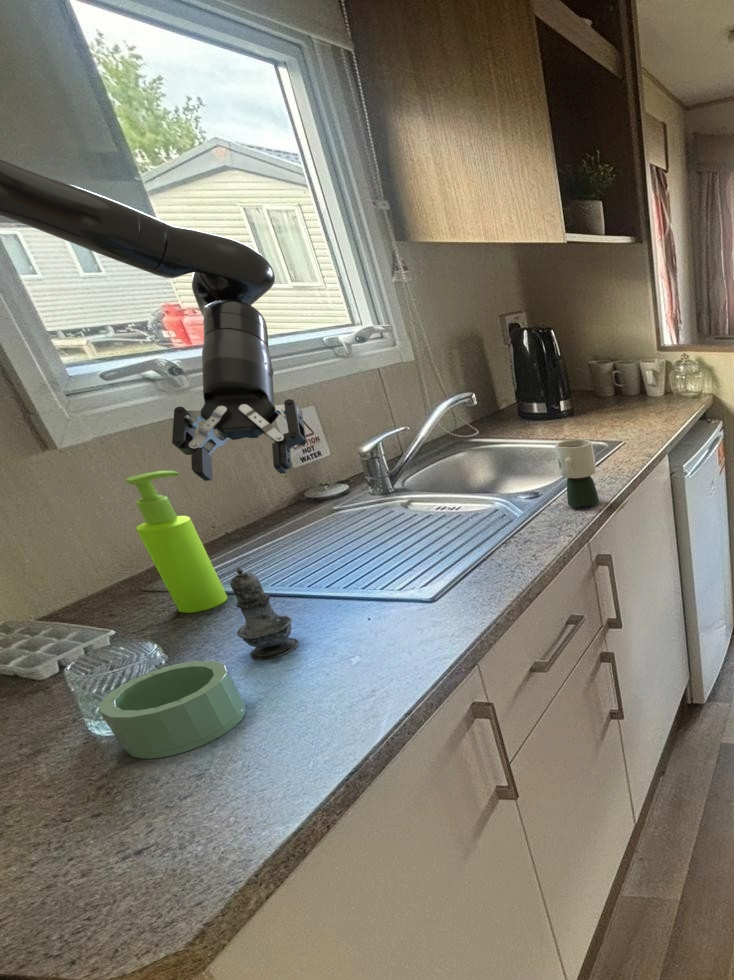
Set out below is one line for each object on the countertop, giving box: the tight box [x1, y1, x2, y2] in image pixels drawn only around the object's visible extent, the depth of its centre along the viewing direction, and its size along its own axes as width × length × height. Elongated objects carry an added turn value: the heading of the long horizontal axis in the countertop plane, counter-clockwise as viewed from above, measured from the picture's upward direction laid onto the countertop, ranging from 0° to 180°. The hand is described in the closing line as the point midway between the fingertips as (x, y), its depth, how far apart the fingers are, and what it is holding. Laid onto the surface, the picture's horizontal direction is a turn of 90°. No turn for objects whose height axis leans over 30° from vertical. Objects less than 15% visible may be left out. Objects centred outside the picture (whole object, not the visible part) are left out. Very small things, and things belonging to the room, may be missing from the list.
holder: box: [99, 660, 247, 760], centre depth 72 cm, size 10×10×6 cm
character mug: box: [554, 438, 600, 509], centre depth 134 cm, size 11×7×13 cm, turn 0°
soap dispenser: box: [124, 470, 228, 614], centre depth 95 cm, size 6×7×20 cm
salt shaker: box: [229, 567, 300, 661], centre depth 85 cm, size 6×6×12 cm
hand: (243, 474), depth 88 cm, fingers open, 8 cm apart
